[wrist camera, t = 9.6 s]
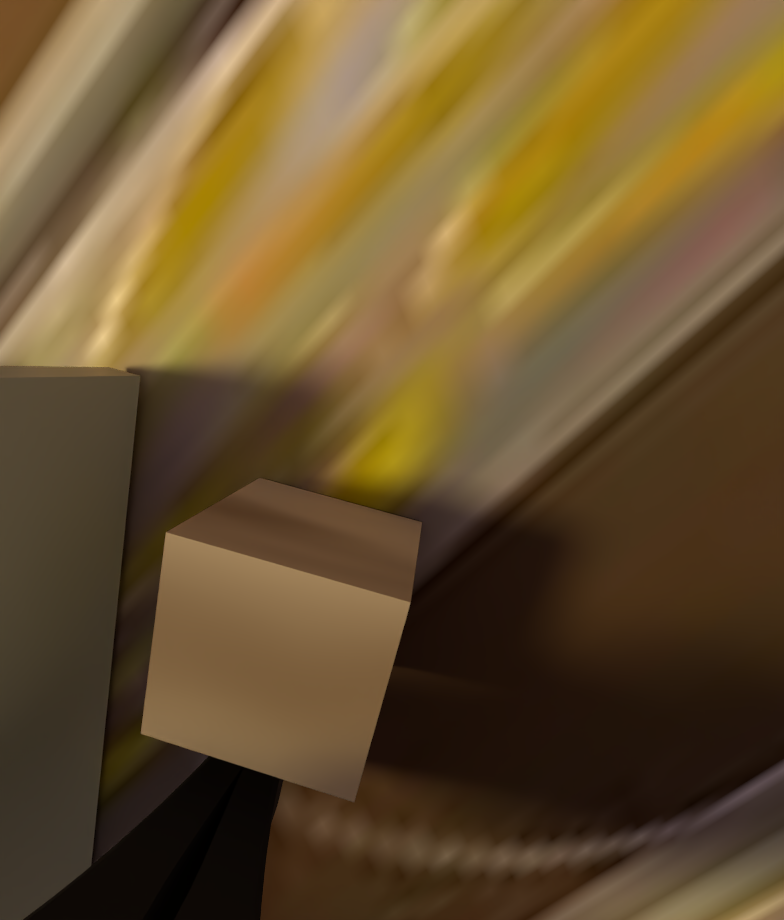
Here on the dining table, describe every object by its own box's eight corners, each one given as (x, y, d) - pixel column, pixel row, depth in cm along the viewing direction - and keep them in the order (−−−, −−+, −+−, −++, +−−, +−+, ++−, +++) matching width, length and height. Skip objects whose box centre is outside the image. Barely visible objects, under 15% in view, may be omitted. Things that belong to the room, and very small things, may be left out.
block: (382, 665, 11) (354, 801, 7) (234, 621, 11) (140, 733, 8) (422, 521, 10) (411, 602, 6) (259, 478, 10) (166, 532, 7)
